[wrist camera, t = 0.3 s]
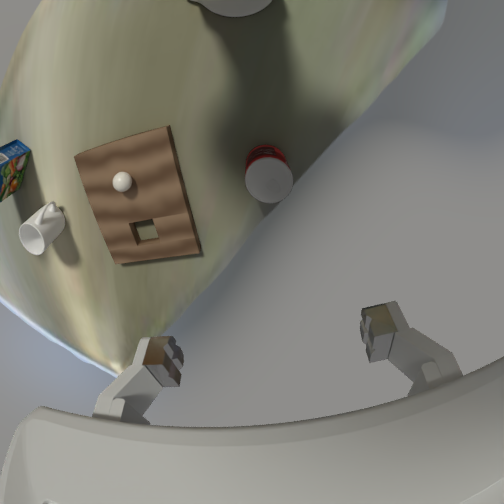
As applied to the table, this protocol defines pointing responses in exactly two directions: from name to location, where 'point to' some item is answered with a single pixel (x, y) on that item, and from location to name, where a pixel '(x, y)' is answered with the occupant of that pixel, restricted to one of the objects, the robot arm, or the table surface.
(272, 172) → the canned food
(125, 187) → the ball
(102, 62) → the table surface
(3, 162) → the blue food package
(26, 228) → the mug
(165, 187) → the board
